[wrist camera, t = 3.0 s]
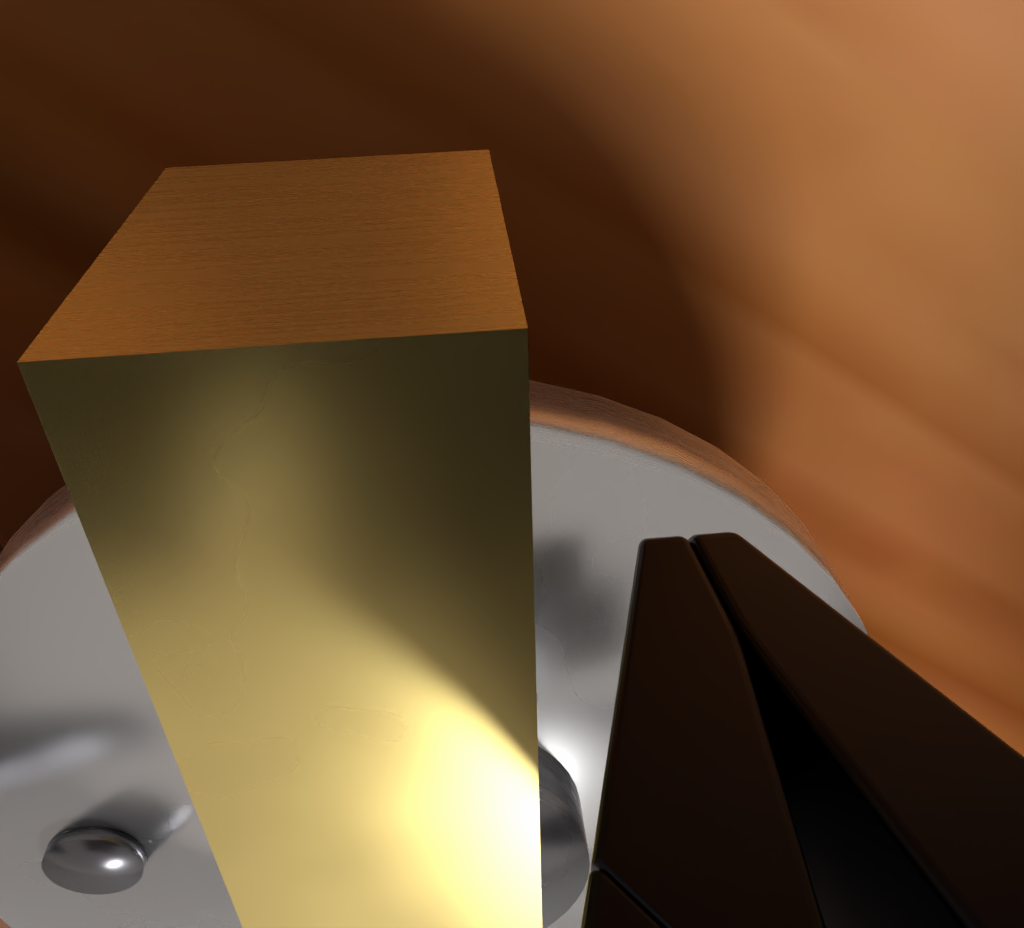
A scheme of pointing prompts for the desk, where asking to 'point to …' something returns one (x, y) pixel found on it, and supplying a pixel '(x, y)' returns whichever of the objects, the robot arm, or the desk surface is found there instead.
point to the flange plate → (326, 568)
